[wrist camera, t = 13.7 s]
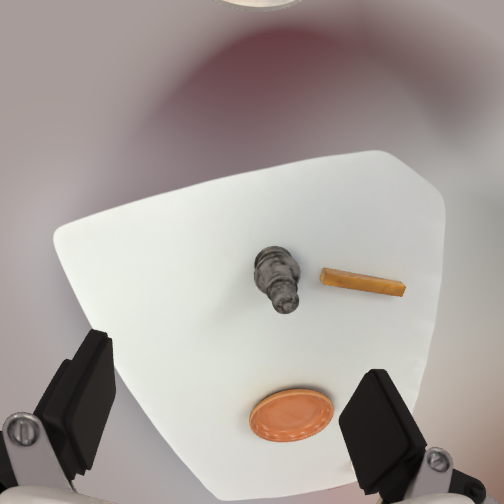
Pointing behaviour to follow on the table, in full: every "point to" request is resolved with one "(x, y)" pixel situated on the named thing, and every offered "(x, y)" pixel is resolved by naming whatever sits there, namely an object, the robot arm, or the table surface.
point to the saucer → (291, 415)
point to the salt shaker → (278, 278)
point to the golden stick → (362, 282)
